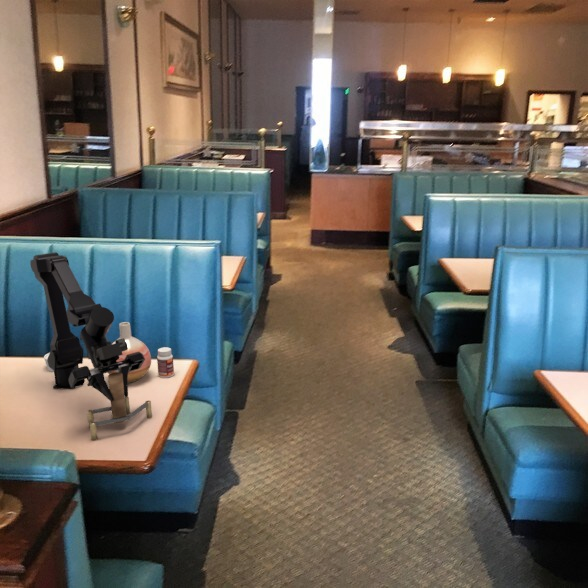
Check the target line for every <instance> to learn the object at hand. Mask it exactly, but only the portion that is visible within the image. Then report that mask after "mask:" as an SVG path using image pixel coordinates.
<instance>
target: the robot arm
mask: <svg viewBox="0 0 588 588" xmlns="http://www.w3.org/2000/svg"><path fill="white" fill-rule="evenodd" d="M69 262H70V261H69V260H68V257H67V256H66V255H65V254H64V255H61V254H60V255H59V253H58V252H56V251H55V252H48V253H43V254H42V253H41V254H35V255H34V256H33V259H30V269H31V271H32V272H33V274H34V278H35V279H36V280H37V281H38V282H39V283H40V284H41V285H42V286H43V290H44V291H43V292H44V295H45V300H46V305H47V308H48V312H49V318H50V319H49V320H50V323H51V326H52V332H53V337H52V339H51V342H50V344H49V346H50V351H49V353H50V354H49V356H48V359H47V361H48V365H49V367H50V368H51V369H53V370H54V372H53V375H54V382H55V384H54V385H53V386H52V388H53V389H64V390H65V389H68V390H69V389H70V390H71V389H72V390H73V389H76V388H78V387H81V386H83V385H84V384H85V382H86V380H87V386H88V387H92V388H94V389H95V390H97V391H98V393H99V392H100V393H101V394H102V396H104V397H105V398H106V399H107V400H108V401H110V403H111V402H112V401H113V400H114V399H113V396H112V393H111V391H110V389H109V384H107V382H106V377H105V376H104V375H105V374H108V372H111V371H115V370H116V371H117V372H119V373H122V374H123V384H124V395H125V397H127V396H128V397H129V387H128V386H129V385H128V383H127V377H128V373H129V372H130V371H134V370H137V369H139V368H140V367H141V366H142V364H143V362H144V361H145V358H144V355H143V354H142V353H140V352H136V353H132V354H128V355H127V356H126V358H125V359H124V360H123V361H119V362H117V361H116V360H118V359H119V358H120V357H119V356H120V355H123V354H122V351H126V350H127V349H128V347H127V343H126V341H125V339H124V338H122V339H119V338H117V339H118V340H117V339H116V340H115V341H114V342H116V344H112V343H113V342H111V341H109V340H108V338H107V335H108V333H109V331H110V328H111V327H112V325H113V322H114V320H115V315H114V313H113V311H112V310H110V308H107V307H104V306H102V304H101V303H96V302H95V301H94V299H93V298H92V297H91V296H90V295H88V294H86V293H84V291H83V290H82V289H83V288H81V286H80V284H79V282H78V280H77V278H76V276H75V274H74V273H73V270H72V269H71V267H70V263H69ZM65 301H66V303H67V304H66V303H65ZM66 305H67V309H66ZM70 324H71V325H72V326H73V327H74V328H75V327H76V328H78V327H79V328H80V327H82V328H81V329H80V333H79V335H80V336H75V334H74V333H73V331H71V327H70ZM80 340H81V341H82V342H83V345H84V347H85V349H86V351H87V358H88V359H87V360H90V361H91V364H92V367H93V368H90V367H88V366H87V365H84V366H81V367H79V365H82V364H83V361H84V348H83V347H82V344H81V342H80Z"/></svg>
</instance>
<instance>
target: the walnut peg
mask: <svg viewBox="0 0 588 588" xmlns="http://www.w3.org/2000/svg"><path fill="white" fill-rule="evenodd" d="M107 378H108V381H107V382H108V387H109V389H110V391H111V393H112V396H113V399H114V400H113V401H112V402H111V401H110V406H111V410H112V411H111V416H112V417H111V419H112V418H118V417H123V416H127V414H126V405H125V395H124V384H123V374H122V373H119V372H115V373H111V374H108V375H107ZM127 421H128V420H125V421H120V422H115V423H114V424H116V425H117V424H118V425H119V424H123V423H125V422H127Z"/></svg>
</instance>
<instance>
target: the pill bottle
mask: <svg viewBox="0 0 588 588" xmlns="http://www.w3.org/2000/svg"><path fill="white" fill-rule="evenodd" d="M156 363H157V375H158V377H159V378H162V379H168V378H171V377H173V376H174V375H175V370H174V369H175V368H174V365H175V364H174V356H173V354H172V348H170V347H167V346H166V347H165V346H163V347H160V348H158V349H157V357H156Z"/></svg>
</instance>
